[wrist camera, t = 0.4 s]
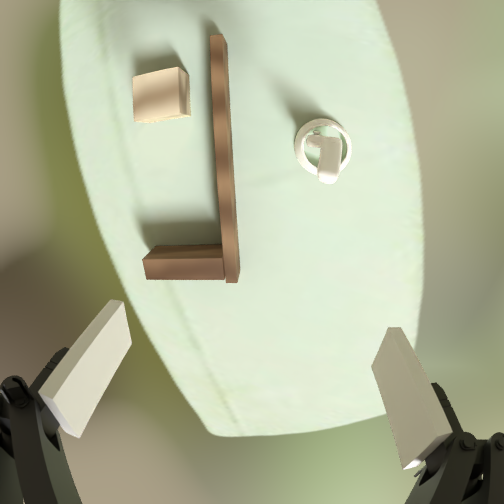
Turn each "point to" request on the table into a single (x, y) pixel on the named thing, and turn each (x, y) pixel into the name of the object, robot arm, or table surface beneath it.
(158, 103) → the beige wooden block
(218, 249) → the guide rail
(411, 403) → the robot arm
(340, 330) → the table surface
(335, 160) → the hook
